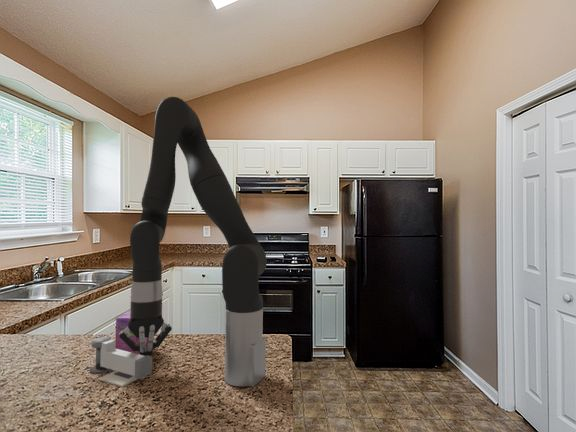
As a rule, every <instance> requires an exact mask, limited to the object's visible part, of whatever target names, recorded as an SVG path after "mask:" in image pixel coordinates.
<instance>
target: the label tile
mask: <svg viewBox="0 0 576 432" xmlns="http://www.w3.org/2000/svg"><path fill="white" fill-rule="evenodd" d="M98 380H99V381H102V382H105V383H108V384H112V385H114V386H119V387H121V388H123V387H125V386H127V385H129V384H131V383H133V382H135V381H136V380H138V379H137V378H135V376H132V375H129V374H125V373H122V372H119V371H115V370H113V371H112V372H108V374H105V375H103V376H101V377H99V378H98Z"/></svg>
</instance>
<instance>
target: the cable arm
mask: <svg viewBox="0 0 576 432" xmlns="http://www.w3.org/2000/svg"><path fill="white" fill-rule="evenodd" d="M91 348H94V349H96V348H101V358H100V366H101V367H105V368H108V369H110V370H112V371H119V372H122V373H125V374H129V375H132V376H135V378H137V380H141V379H143V378H145V377H147V376H149V375H151V374H152V373H153V355H152V356H149V355H147V356H144V355H140V354H136V353H131V352H127V351H123V350H119V349H115V339H112V337H108V336H102V337H97V338H95V339H94V338H93V340H91Z"/></svg>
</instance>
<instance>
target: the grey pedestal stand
mask: <svg viewBox="0 0 576 432" xmlns="http://www.w3.org/2000/svg"><path fill="white" fill-rule="evenodd" d="M100 358H101V348H95V365H93V366H91V367H90V368H89V372H91V373H90V374H103V373H106V372H108V371H110V370H111V369H108V368H105V367H101V366H100Z"/></svg>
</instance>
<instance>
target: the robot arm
mask: <svg viewBox="0 0 576 432" xmlns="http://www.w3.org/2000/svg"><path fill="white" fill-rule="evenodd" d="M177 146H179V148H180V150H181V152H182V154H183V155H184V156H183V157H184V158H185V161H186V164H187V172H188V180H189V184H190V186H191V189H192V191H193V194H194V195H195V197H196V200H197V201H198V204H199V206H200V208H201V209H202V210H203V212H204V213H205V214H206V215H207V217H208V218H209V219H210V220H211V221H212V222H213V223H214V224H215V226H216V227H217V228H218V229H219V230H220V232H221V233H222V235H223V237H224V239H225V240H226V242H227V245H228V247H229V248H228V249H227V250H226V252H225V253H224V255H223V258H222V265H221V267H222V268H221V278H222V280H221V282H222V296H223V297H222V298H223V300H224V302H225V320H224V321H225V322H224V323H225V324H224V325H225V327H224V332H225V333H224V334H225V335H224V382H226V384H228V385H230V386H234V387H251V388H252V387H255V386H256V385H257V384H258V383H259V382H261V381H262V380H263V379H264V378H265V377H266V362H267V361H266V354H267V351H266V349H267V347H266V345H267V344H266V343H267V341H266V340H267V339H266V337H264V336H263V329H264V327H263V325H264V324H263V323H264V322H263V321H264V320H263V318H264V317H263V316H264V298H263V296H262V295H261V294H260V290H259V289H260V288H259V287H260V286H259V276H262V274H263V273H264V271H265V270H266V268H267V265H268V264H267V263H268V260H267V255H266V251H265V250H264V248H263V247H262V245H261V243H260V242H259V240H258V239H257V237H256V235H255V234H254V232H253V231H252V228H251V227H250V226H249V224H248V222H247V220H246V217H245V216H244V213H243V210H242V208H241V205H240V204H239V202H238V200H237V197H236V196H235V193H234V190H233V189H232V186H231V184H230V182H229V180H228V178H227V176H226V174H225V172H224V171H223V168H222V167H221V165H220V163H219V161H218V159H217V158H216V156H215V154H214V153H213V151H212V149H211V147H210V145H209V143H208V141H207V138H206V135H205V132H204V129H203V126H202V123H201V121H200V118H199V116H198V114H197V113H196V112H195V111H194V109H193V108H192V107H191V106H190V105H189V104H188V103H187V102H186V101H184V99H182V98H180V97H177V96H169V97H167V98H164V99H163V100H161V101H160V103H159V105H158V106H157V109H156V111H155V119H154V131H153V139H152V148H151V157H150V165H149V170H148V174H147V180H146V182H145V187H144V191H143V194H142V197H141V198H142V199H141V203H140V204H141V208H142V212H141V216H140V219H139V221H138V222H137V223H135V224H134V225H133V227H132V228H131V230H130V236H129V244H130V247H129V248H130V252H131V260H132V270H131V272H132V273H131V280H132V281H131V287H130V309H129V311H130V321H129V323H128V327H127V328H125V329H124V330H122V331H120V332H119V336H120V338H121V339H122V340H123V341H124V342H125V343H126V344H127V345H128V346H129V347H130V348H131V349H132V350H133V351H139V352H140V355H144V356H147V355H149V356H152V357H153V350H154V349H156V348H159V347H160V346H161V345H162V343H163V342H164V341H165V339H166V338H167V336H168V335H169V334H170V332H171V331H172V326H171V324H169V323H166V322H165V320H164V317H163V295H164V293H163V292H164V291H163V283H162V282H163V281H162V277H163V276H162V275H163V271H162V269H163V268H162V266H163V264H162V260H161V258H160V243H162V241H163V239H164V237H165V233H166V229H167V222H168V215H169V210H170V206H171V203H172V200H173V196H174V192H175V186H176V154H177V153H176V151H177ZM129 331H131V332H132V333H133V334H134V335H135V336H136V337H137V338H138V339H139V344H136V343H135V342H134V341H133V340H132V339H131V338H130V332H129ZM159 331H160V332H159ZM158 332H159V333H158ZM157 333H158V335H157ZM156 335H157V337H156V338H154V337H155V336H156ZM146 337H147V343H146V349H145V338H146Z"/></svg>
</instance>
